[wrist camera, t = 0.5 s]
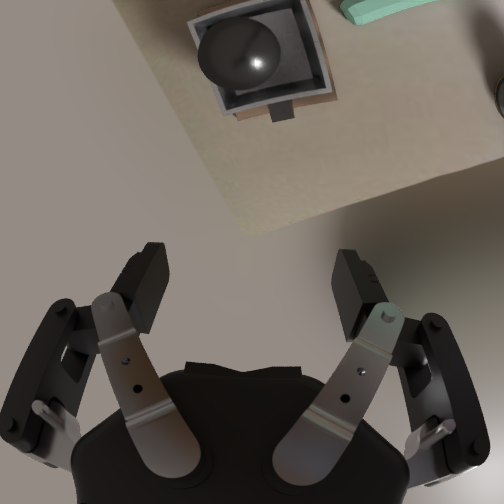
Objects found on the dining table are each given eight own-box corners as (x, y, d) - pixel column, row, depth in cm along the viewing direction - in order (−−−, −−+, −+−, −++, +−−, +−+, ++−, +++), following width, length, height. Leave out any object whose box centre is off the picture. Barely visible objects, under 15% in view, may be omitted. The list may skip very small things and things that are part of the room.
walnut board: (199, 12, 28) (197, 12, 27) (302, -14, 24) (303, -16, 23) (239, 118, 41) (238, 120, 40) (336, 98, 36) (337, 100, 36)
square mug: (220, 30, 30) (183, 23, 18) (295, 11, 26) (301, -10, 15) (247, 106, 38) (228, 138, 26) (319, 90, 35) (337, 115, 23)
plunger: (213, 29, 21) (136, 19, 9) (291, 9, 19) (298, -36, 7) (237, 94, 26) (190, 147, 14) (312, 77, 24) (343, 112, 12)
